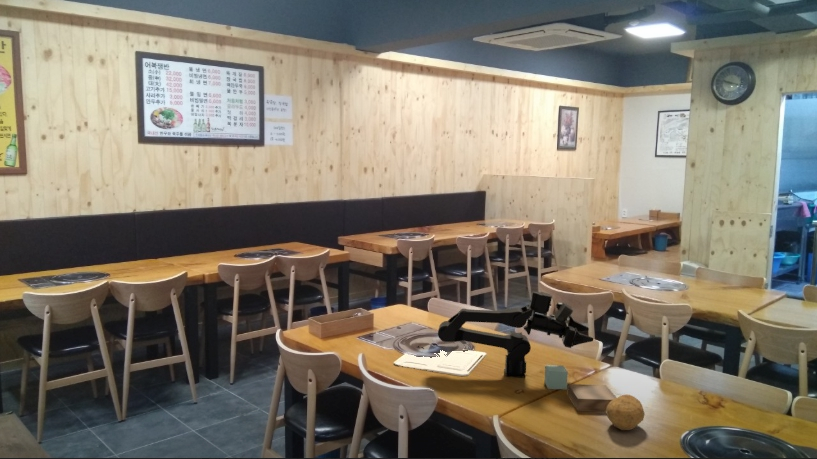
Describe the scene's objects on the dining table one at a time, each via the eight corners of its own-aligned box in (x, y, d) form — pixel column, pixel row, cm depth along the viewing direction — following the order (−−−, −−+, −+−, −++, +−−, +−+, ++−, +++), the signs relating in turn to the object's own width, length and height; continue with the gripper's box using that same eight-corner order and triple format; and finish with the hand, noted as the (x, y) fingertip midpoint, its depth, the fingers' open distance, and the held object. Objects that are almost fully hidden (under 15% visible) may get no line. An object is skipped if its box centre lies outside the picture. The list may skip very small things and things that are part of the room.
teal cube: (548, 389, 194) (549, 371, 194) (544, 382, 200) (545, 365, 200) (566, 389, 194) (567, 371, 194) (562, 382, 200) (563, 365, 200)
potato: (598, 431, 163) (599, 403, 162) (613, 414, 175) (615, 388, 174) (635, 441, 158) (636, 412, 157) (648, 423, 169) (649, 396, 168)
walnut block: (577, 411, 177) (578, 398, 177) (567, 396, 189) (568, 384, 189) (617, 412, 177) (618, 399, 177) (605, 397, 189) (605, 385, 189)
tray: (391, 366, 214) (392, 362, 214) (419, 345, 240) (419, 342, 240) (466, 378, 204) (466, 374, 204) (487, 355, 230) (487, 351, 229)
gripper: (554, 312, 194) (602, 322, 192) (548, 293, 212) (592, 303, 210) (546, 343, 196) (593, 353, 195) (540, 322, 214) (584, 332, 213)
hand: (590, 334), depth 203 cm, fingers open, 9 cm apart
